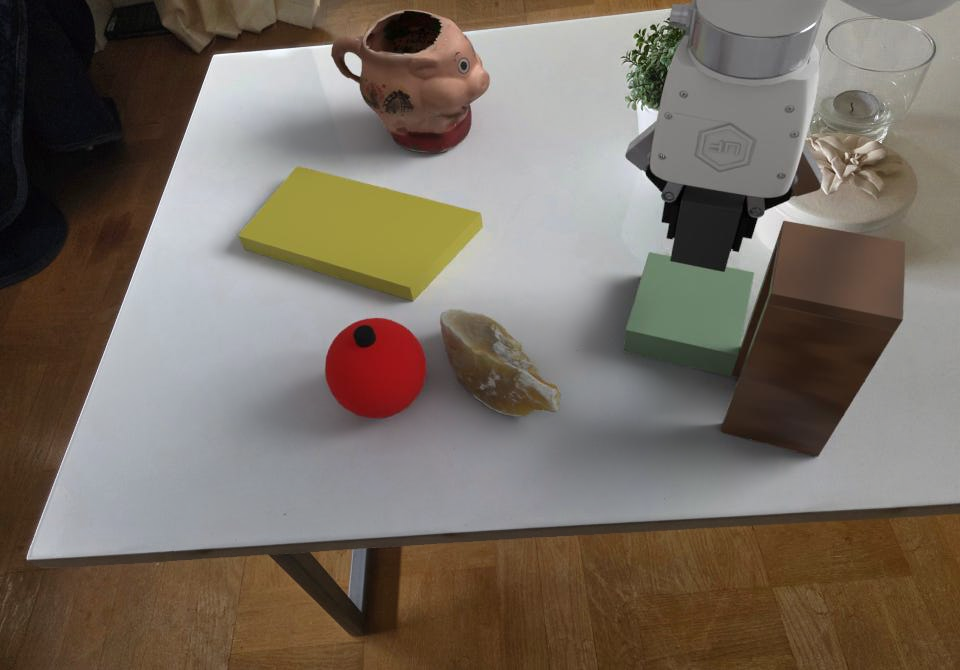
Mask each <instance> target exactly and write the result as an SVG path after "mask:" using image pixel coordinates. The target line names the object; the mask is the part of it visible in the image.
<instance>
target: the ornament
mask: <svg viewBox="0 0 960 670" xmlns="http://www.w3.org/2000/svg"><path fill="white" fill-rule="evenodd" d="M331 342H332V343H331V344H330V346H329V348H328V349H327V353H326V356H325V361H324V362H325V363H324V374H325V380H326V384H327V387H328V390H329V391H330V393H331V395H332V396H333V398H334V399H335V400H336V401H337V403H338V404H339V405H340V406H341V407H342V408H343V409H345V410H347V411H348V412H349V413H351V414H353V415H356V416H359V417H362V418H367V419H385V418H390V417H392V416H395V415H398V414H400V413H402V412H403V411H404V410H406V409H407V408H408V407H410V406H411V405H412V404H413V403H414V402H415V401H416V399H417V398H418V396H419V395H420V394H421V391H422V389H423V387H424V384H425V380H426V376H427V359H426V355H425V351H424V348H423V347H422V345H421V343H420V341H419V339H418V338H417V337H416V336H415V335H414V333H413V332H412V331H410V329H409V328H407V327H406V326H405V325H403V324H401V323H399V322H397V321H395V320H393V319H389V318H384V317H370V318H369V317H367V318H363V319H360V320H357V321H355V322H353V323H351V324H350V325H348V326H346V327H345V328H343V329H342V330H341V331H340V332H338V334H337V335H336V336H335V337H334V338H333V340H332V341H331Z"/></svg>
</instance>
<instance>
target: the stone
mask: <svg viewBox="0 0 960 670" xmlns="http://www.w3.org/2000/svg"><path fill="white" fill-rule="evenodd" d="M439 318H440V319H439V324H440V331H441V337H442V342H443V346H444V349H445V353H446V354H447V357H448V361H449V363H450V366H451V368H452V370H453V372H454V374H455V377H456V380H457V381H458V383H460V384H462V385H463V386H464V388H465V389H466V390H467V391H468V392H469V393H470V394H471V395H472V396H473V397H474V398H475V399H476V400H478V401H480V402H481V403H482V404H483V405H485V406H486V407H488V408H489V409H490V410H493V411H495V412H497V413H498V414H501V415H505V416H513V417H525V418H526V417H528V416H529V415H530V414H531V413H532V412H534V411H540V412H541V411H545V412H549V413H553V414H557V413H559V408H560V401H561V395H562V394H561V391H560V389H559V386H558V385H557V384H553V383H550V382H548V381H545V380H544V378H543V377H541V376H539V374H538V371H537V370H538V369H537V366H536V364H535V362H534V361H533V360H531V359H530V358H529V357H528V356H527V354H526V353H525V352H524V351H523V347H522V346H523V345H522V343H520V342H519V341H518V340H516V339H515V338H514V337H512V336H511V335H510V334H509V333H508V332H507V329H506V328H505V327H503V325H501V324H500V323H499V322H497V321H496V320H495V319H493V318H491V317H489V316H487V315H486V314H484V313H477V312H470V311H467V310H465V309H454V308H453V309H449V310H445V311H442V312H441V314H440V317H439Z"/></svg>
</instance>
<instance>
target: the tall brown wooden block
mask: <svg viewBox="0 0 960 670" xmlns="http://www.w3.org/2000/svg"><path fill="white" fill-rule="evenodd" d="M778 232H779V233H778V235H777V238H776V241H775V244H774V247H773V250H772V252H771V256H770V258H769V260H768V261H769V262H768V264H767V268H766V270H765V274H764V276H763V279H762V282H761V285H760V288H759V290H758V294H757V296H756V300H755V302H754V306H753V308H752V312H751V315H750V316H749V320H748V323H747V325H746V329H745V332H744V335H743V337H742V340H741V345H740V351H739V356H738V358H737V361H736V364H735V367H734V370H733V373H732V376H731V378H734V379H737V381H736V384H735V387H734V390H733V393H732V395H731V398H730V401H729V403H728V407H727V409H726V411H725V415H724V418H723V419H722V420H723V421H722V423H721V428H720V433H722V434H725V435H730V436H733V437H738V438H742V439H744V440H749V441H753V442H757V443H761V444H765V445H769V446H773V447H776V448H780V449H785V450H789V451H792V452H797V453H800V454H805V455H808V456H812V457H815V458H818V457H820V455H821V453H822V452H823V450H824V449H825V446H826V445H827V443H828V442H829V440H830V439H831V437H832V435H833V433H834V432H835V430H836V429H837V427H838V426H839V424H840V422H841V421H842V419H843V418H844V416H845V414H846V412H847V411H848V409H849V408H850V406H851V404H852V403H853V401H854V399H855V398H856V396H857V395H858V393H859V392H860V390H861V388H862V386H863V385H864V383H865V382H866V380H867V379H868V377H869V375H870V374H871V372H872V370H873V369H874V368H875V366H876V364H877V362H878V361H879V359H880V357H882V354H883V353H884V351H885V349H887V346H888V344H889V343H890V342H891V340H892V338H893V336H894V335H895V334H896V331H897V330H898V329H899V327H900V325H901V324H902V322H903V321H904V307H905V306H904V304H905V282H906V281H905V279H906V278H905V277H906V255H907V253H906V252H907V241H904V240H897V239H891V238H888V237H887V238H886V237H881V236H874V235H870V234H863V233H857V232H851V231H847V230H846V231H845V230H840V229H834V228H829V227H822V226H817V225H813V224H812V225H811V224H805V223H800V222H795V221H790V220H789V221H787V220H783V221H782V223H781V226H780V229H779V231H778Z"/></svg>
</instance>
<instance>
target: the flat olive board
mask: <svg viewBox="0 0 960 670" xmlns="http://www.w3.org/2000/svg"><path fill="white" fill-rule="evenodd" d="M482 229H483V217H482V212H480V211H476V210H472V209H467V208H465V207H459V206H456V205H451V204H449V203H444V202H440V201H436V200H432V199H429V198H426V197H421V196H417V195H413V194H409V193H405V192H401V191H397V190H393V189H390V188H386V187H382V186H379V185H378V186H377V185H375V184H371V183H365V182H363V181H358V180H355V179H352V178H351V179H350V178H347V177H343V176H339V175H335V174H331V173H327V172H323V171H320V170H315V169H312V168H308V167H305V166H304V167H303V166H300V165H296V167H294V169H293V170H292V171H291V173H290V174H289V175H288V176H287V177H286V178H285V179H284V180H283V182H282V183H281V184H280V185H279V187H277V189H276V190H275V191H274V192H273V194H272V195H271V196H270V197H269V198H268V199H267V200H266V202H265V203H264V204H263V206H262V207H260V208H259V210H258V211H257V212H256V213H255V215H254V216H253V217H252V218H251V219H250V221H249V222H248V223H247V224H246V225H245V226H244V227H243V229H242V230H241V232H239V234H237V237H238V239H239V241H240V243H241V246H242V247H243V249H244V251H249V252H252V253H255V254H258V255H262V256H265V257H268V258H271V259H274V260H278V261H281V262H284V263H288V264H291V265H294V266H297V267H300V268H304V269H307V270H311V271H314V272H317V273H320V274H323V275H327V276H330V277H333V278H337V279H339V280H342V281H346V282H349V283H353V284H356V285H359V286H362V287H366V288H369V289H372V290H376V291H378V292H382V293H385V294H388V295H391V296H395V297H398V298H401V299H404V300H408V301H411V302H414V301H415V300H416V299H417V298H418V297H419V296H420V295H422V293H423V292H424V291H425V290H426V289H427V288H428V286H429V285H430V284H431V283H432V282H433V281H434V280H435V279H436V278H437V277H438V276H439V275H440V274H441V272H442V271H443V270H444V269H445V268H446V267H447V266H448V265H449V264H450V263H451V262H452V261H453V260H454V259H455V258H456V256H457V255H458V254H459V253H460V252H461V251H463V249H464V248H465V247H466V246H467V245H468V243H470V242H471V240H472V239H473V238H474V237H475V236H476V235H477V234H478V233H479V232H480V231H481V230H482Z"/></svg>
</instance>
